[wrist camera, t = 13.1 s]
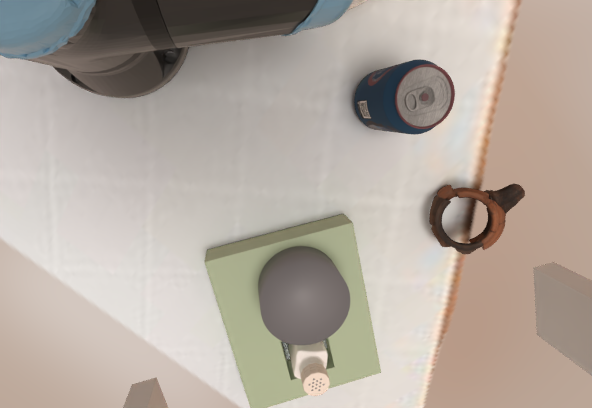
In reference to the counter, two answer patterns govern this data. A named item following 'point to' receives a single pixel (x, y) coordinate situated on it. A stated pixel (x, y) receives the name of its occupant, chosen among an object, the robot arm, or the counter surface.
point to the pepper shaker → (310, 367)
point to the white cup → (356, 3)
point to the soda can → (405, 97)
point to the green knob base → (294, 306)
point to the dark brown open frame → (496, 209)
